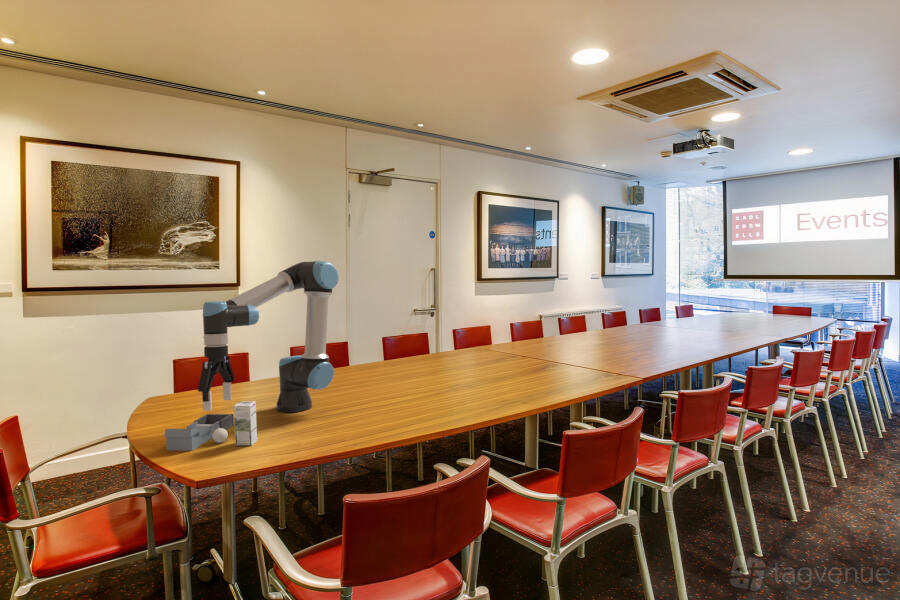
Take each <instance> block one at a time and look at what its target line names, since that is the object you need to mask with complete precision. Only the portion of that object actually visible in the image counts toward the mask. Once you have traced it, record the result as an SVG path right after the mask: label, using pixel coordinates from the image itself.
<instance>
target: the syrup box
mask: <svg viewBox="0 0 900 600" xmlns="http://www.w3.org/2000/svg"><path fill="white" fill-rule="evenodd" d="M233 420H234V439H235V446H236V447H244V446H245V447H246V446H248V447H249V446H253V445H255V443H256V442H257V441H258V433H257V432H258V431H257V429H258V427H257V403H256V401H255V400H253V401H239V402H237V403H235V404H234V405H233Z"/></svg>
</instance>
